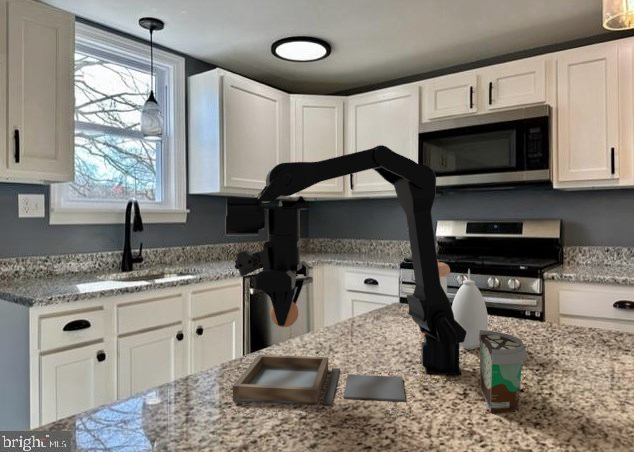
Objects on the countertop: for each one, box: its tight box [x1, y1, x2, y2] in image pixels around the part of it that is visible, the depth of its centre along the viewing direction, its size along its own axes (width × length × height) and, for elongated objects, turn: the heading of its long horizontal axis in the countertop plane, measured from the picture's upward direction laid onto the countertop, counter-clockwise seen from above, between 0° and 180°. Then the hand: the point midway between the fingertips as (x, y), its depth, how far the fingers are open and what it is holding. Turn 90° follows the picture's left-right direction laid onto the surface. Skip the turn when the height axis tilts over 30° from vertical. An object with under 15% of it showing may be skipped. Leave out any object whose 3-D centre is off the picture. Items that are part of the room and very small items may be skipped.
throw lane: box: [232, 354, 406, 407], centre depth 78 cm, size 28×16×2 cm, turn 82°
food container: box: [479, 330, 528, 414], centre depth 70 cm, size 12×6×10 cm, turn 168°
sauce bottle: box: [451, 269, 489, 351], centre depth 98 cm, size 8×8×18 cm
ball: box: [269, 302, 299, 328], centre depth 78 cm, size 5×5×5 cm
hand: (284, 321), depth 78 cm, fingers closed on ball, 5 cm apart
